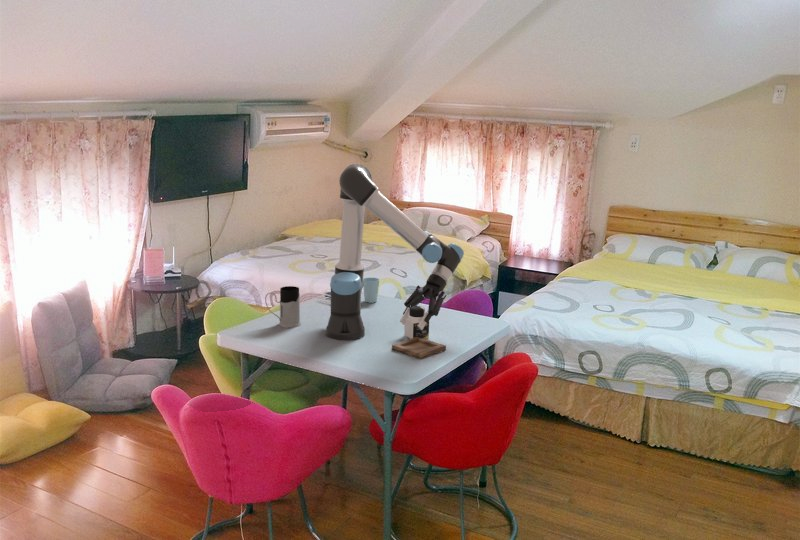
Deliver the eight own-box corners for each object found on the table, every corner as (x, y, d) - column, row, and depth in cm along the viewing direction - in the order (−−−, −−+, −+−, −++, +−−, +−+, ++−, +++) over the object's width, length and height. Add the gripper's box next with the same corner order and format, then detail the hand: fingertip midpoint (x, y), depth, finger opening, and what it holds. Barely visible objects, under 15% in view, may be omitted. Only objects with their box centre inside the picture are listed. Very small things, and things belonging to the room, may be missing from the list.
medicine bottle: (412, 340, 268) (413, 310, 266) (404, 335, 274) (404, 305, 272) (429, 338, 272) (430, 308, 269) (419, 333, 278) (420, 303, 275)
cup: (378, 303, 319) (378, 281, 316) (361, 303, 319) (362, 281, 317) (379, 299, 326) (379, 277, 324) (363, 299, 326) (363, 277, 324)
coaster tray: (391, 349, 257) (392, 344, 257) (417, 341, 268) (417, 336, 267) (420, 359, 248) (420, 354, 248) (445, 350, 258) (445, 345, 258)
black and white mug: (302, 326, 282) (302, 290, 279) (267, 329, 277) (266, 292, 274) (298, 320, 290) (298, 285, 287) (263, 323, 285) (263, 287, 282)
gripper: (464, 289, 273) (436, 337, 265) (422, 279, 287) (395, 324, 279) (456, 277, 268) (427, 326, 260) (414, 268, 282) (386, 314, 274)
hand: (410, 325), depth 270 cm, fingers closed on medicine bottle, 8 cm apart
